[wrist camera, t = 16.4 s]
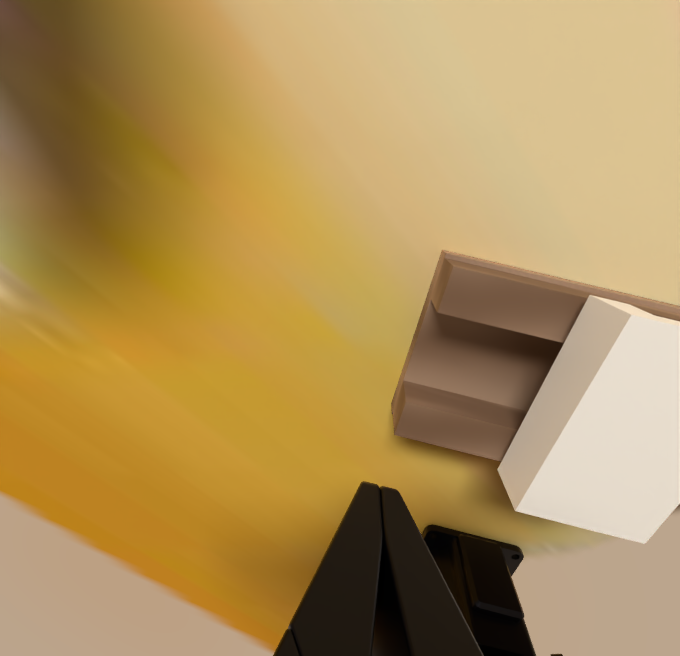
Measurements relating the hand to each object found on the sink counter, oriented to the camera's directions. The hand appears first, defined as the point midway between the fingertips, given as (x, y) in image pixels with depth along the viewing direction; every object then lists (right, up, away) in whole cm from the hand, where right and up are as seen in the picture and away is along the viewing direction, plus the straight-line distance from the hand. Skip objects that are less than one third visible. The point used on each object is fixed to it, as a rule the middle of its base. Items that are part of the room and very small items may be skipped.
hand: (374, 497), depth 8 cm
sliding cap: (+11, +1, +9) cm, 14 cm away
